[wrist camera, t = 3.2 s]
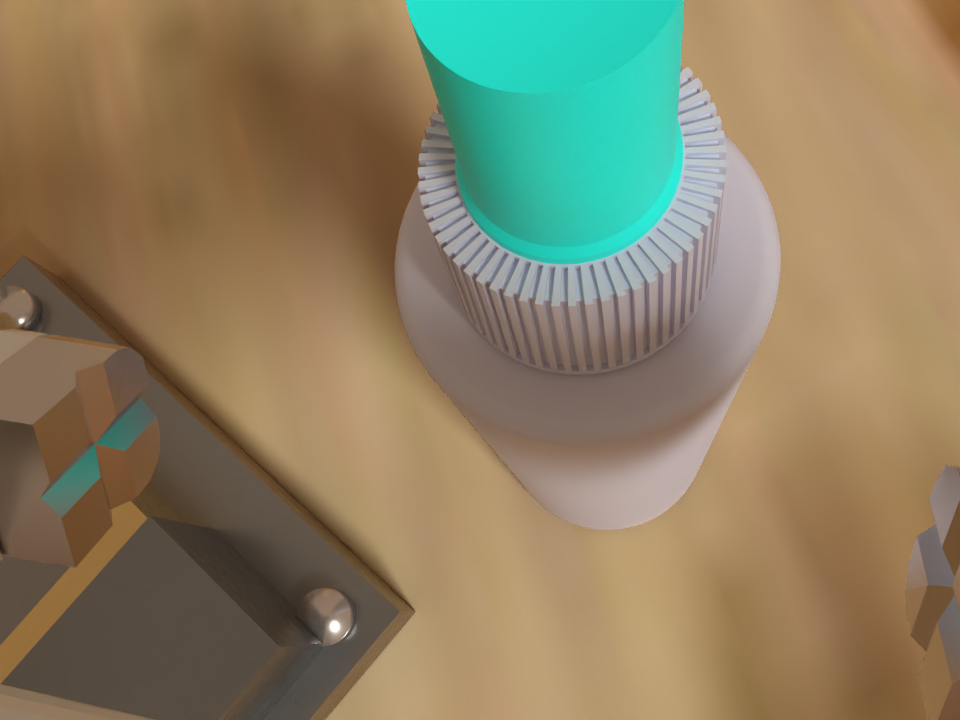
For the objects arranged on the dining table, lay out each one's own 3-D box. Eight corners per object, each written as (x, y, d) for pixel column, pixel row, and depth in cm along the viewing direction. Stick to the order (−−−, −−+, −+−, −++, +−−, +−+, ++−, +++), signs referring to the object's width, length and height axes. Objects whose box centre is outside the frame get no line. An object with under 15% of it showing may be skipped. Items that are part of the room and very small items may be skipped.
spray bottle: (472, 451, 29) (83, 55, 8) (587, 306, 30) (490, -391, 9) (625, 572, 28) (611, 452, 7) (743, 416, 28) (1064, -134, 7)
